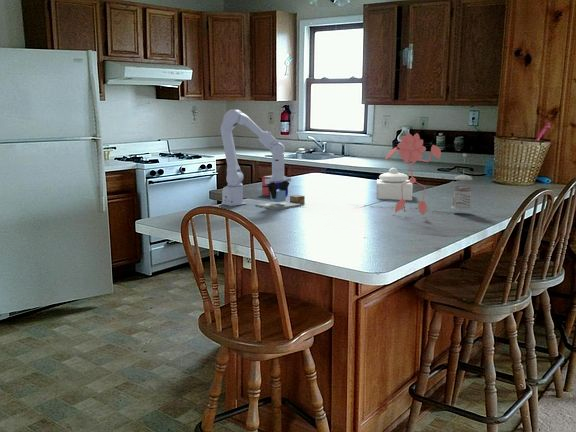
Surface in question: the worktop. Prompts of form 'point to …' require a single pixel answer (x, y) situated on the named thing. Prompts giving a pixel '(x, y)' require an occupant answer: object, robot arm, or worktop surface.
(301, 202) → the walnut block
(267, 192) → the puzzle cube
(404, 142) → the figurine
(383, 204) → the worktop surface
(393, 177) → the white lidded canister
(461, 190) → the french press
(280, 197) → the blue cube
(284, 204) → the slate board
